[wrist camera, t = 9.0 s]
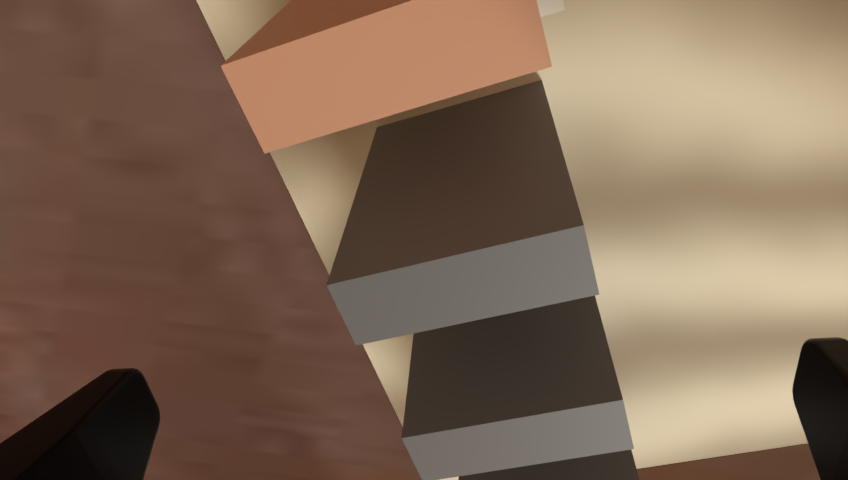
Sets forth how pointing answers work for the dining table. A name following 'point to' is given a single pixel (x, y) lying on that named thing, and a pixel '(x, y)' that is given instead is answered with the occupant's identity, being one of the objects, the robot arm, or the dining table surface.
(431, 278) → the domino
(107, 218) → the dining table surface
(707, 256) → the domino board
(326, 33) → the end tile
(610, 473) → the domino
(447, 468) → the domino
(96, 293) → the dining table surface
